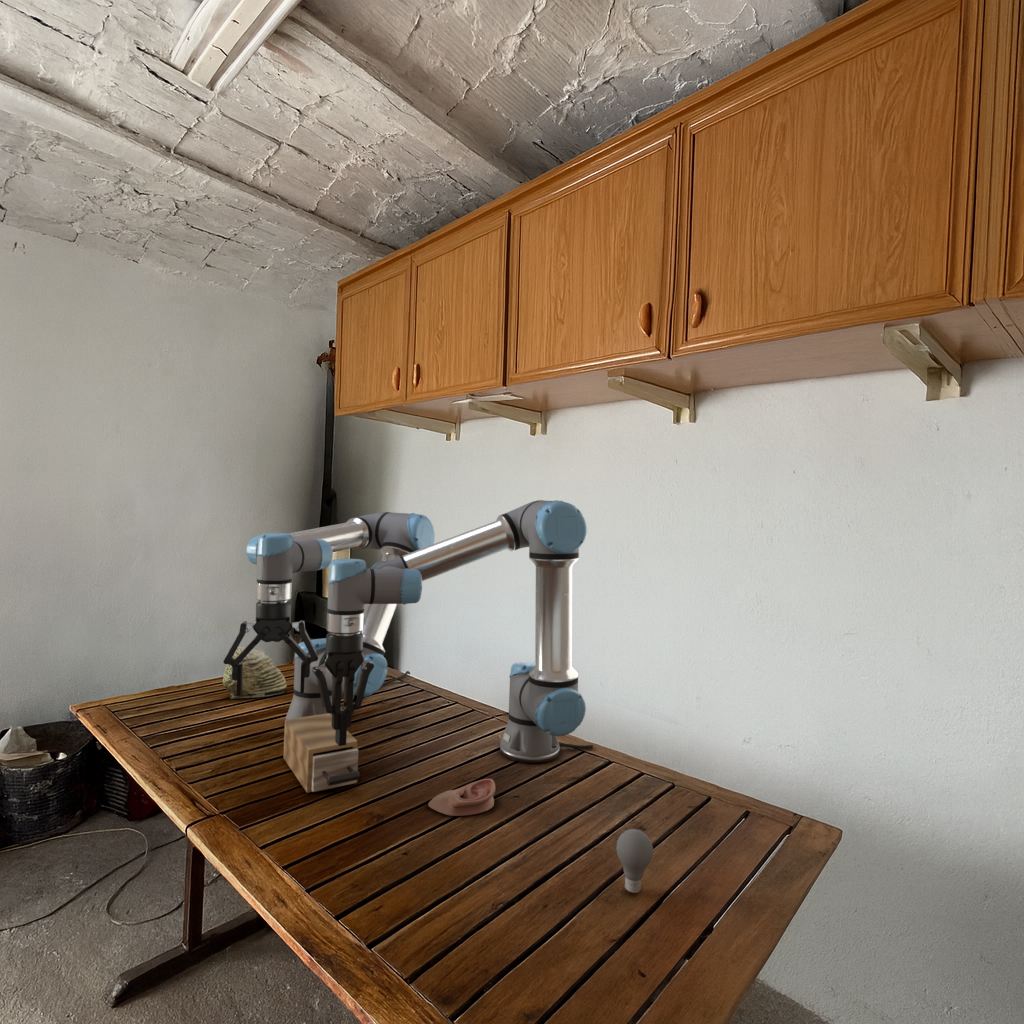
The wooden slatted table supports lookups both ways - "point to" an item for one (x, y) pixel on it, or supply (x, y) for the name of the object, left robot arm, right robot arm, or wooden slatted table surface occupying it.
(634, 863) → the light bulb
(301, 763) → the cabinet
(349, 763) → the drawer
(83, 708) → the wooden slatted table surface
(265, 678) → the fossil
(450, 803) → the anatomical model
